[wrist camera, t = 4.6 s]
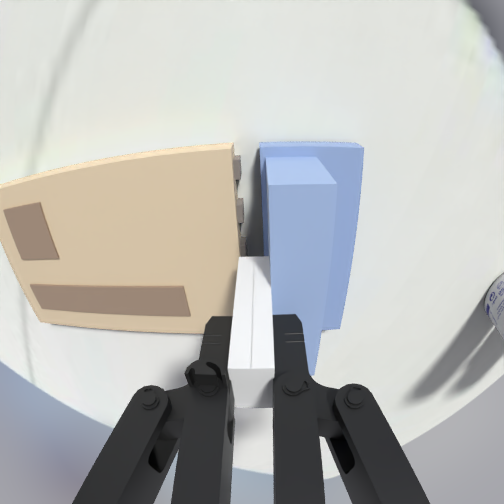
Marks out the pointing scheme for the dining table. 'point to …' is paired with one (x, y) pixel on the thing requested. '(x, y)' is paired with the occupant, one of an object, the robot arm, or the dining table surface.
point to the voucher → (129, 239)
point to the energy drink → (496, 304)
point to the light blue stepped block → (310, 230)
